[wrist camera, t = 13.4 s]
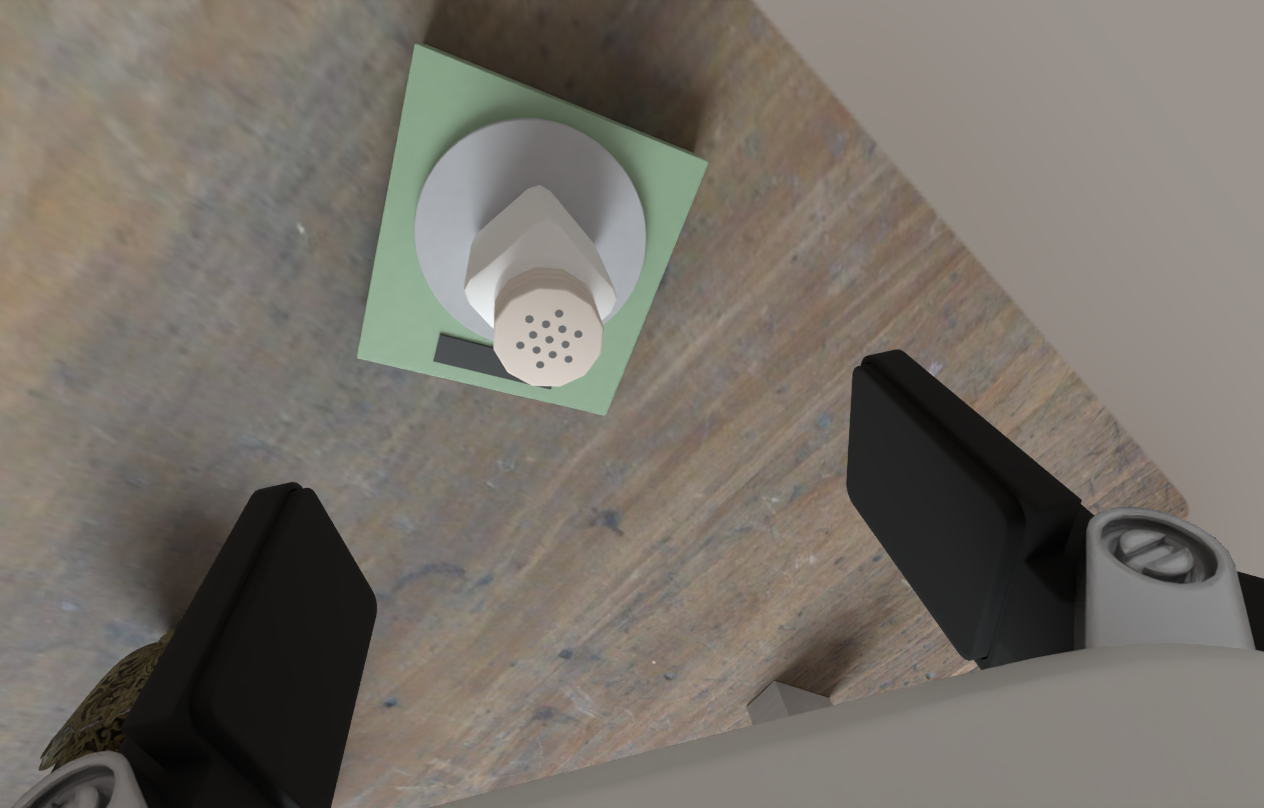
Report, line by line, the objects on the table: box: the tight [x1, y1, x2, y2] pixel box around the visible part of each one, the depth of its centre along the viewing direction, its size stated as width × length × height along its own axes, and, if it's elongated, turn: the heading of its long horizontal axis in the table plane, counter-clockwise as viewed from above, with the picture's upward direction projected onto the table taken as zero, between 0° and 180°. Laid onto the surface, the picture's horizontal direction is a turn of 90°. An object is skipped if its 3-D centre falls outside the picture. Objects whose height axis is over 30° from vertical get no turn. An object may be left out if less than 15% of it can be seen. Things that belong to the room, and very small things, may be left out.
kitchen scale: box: [357, 43, 709, 416], centre depth 27 cm, size 13×12×3 cm
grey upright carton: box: [747, 681, 833, 725], centre depth 48 cm, size 4×7×10 cm, turn 55°
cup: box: [39, 626, 178, 773], centre depth 33 cm, size 8×7×8 cm
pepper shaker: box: [464, 185, 617, 387], centre depth 21 cm, size 4×4×10 cm
